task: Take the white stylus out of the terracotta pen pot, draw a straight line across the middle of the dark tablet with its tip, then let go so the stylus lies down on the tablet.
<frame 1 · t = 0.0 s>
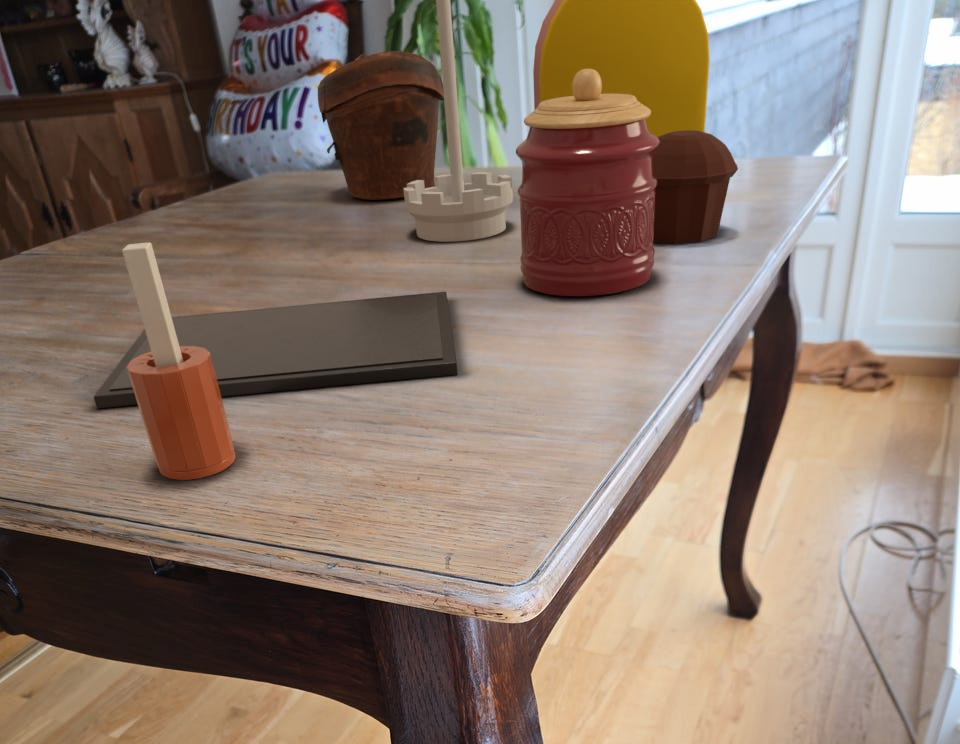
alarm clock: (616, 194, 121), on the table
muffin: (679, 236, 100), on the table
tablet: (290, 349, 77), on the table
flag stand: (461, 232, 110), on the table
pen pot: (197, 463, 59), on the table
kitchen canister: (586, 282, 88), on the table
stylus: (195, 454, 59), point 1 cm above the table, touching pen pot
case: (391, 194, 134), on the table
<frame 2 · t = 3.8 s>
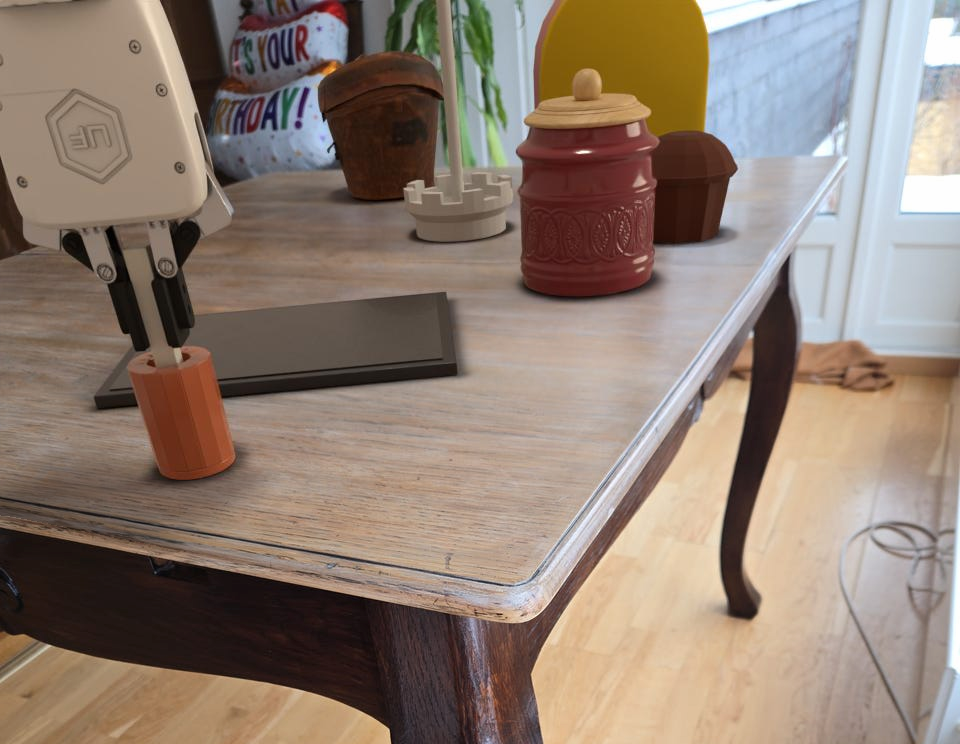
hand: (163, 341, 54), 8 cm above the table, tool pointing down, fingers closed on stylus, 1 cm apart
stylus: (195, 454, 59), point 1 cm above the table, touching gripper, pen pot
everything else where it was.
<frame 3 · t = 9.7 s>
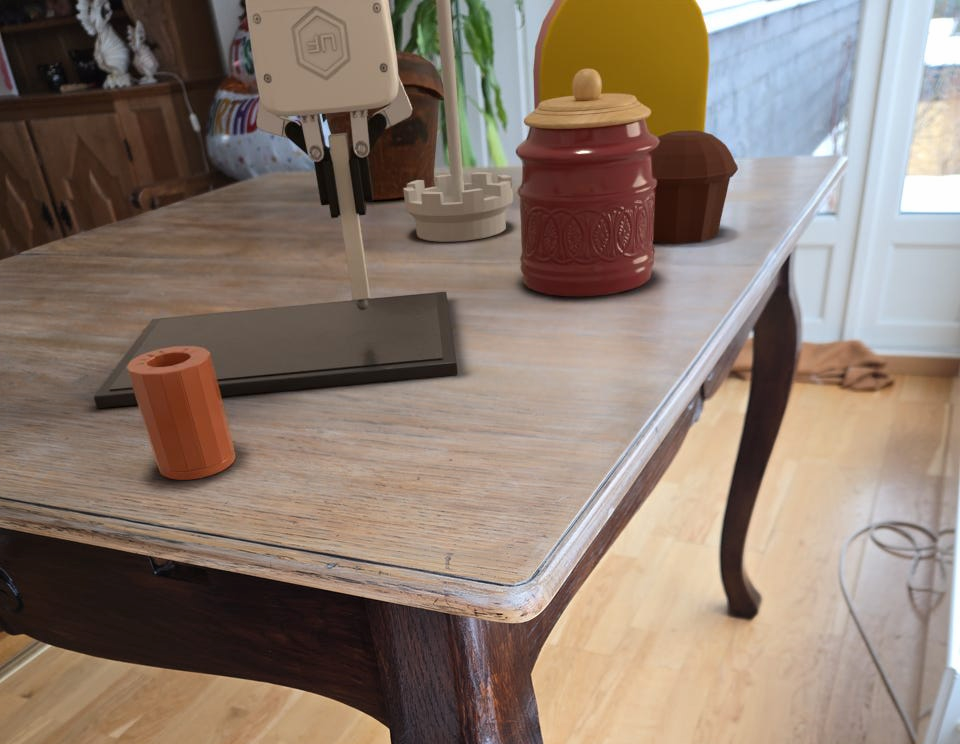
hand: (349, 211, 71), 10 cm above the table, tool pointing down, fingers closed on stylus, 1 cm apart
stylus: (363, 309, 75), point 3 cm above the table, touching gripper
everything else where it was.
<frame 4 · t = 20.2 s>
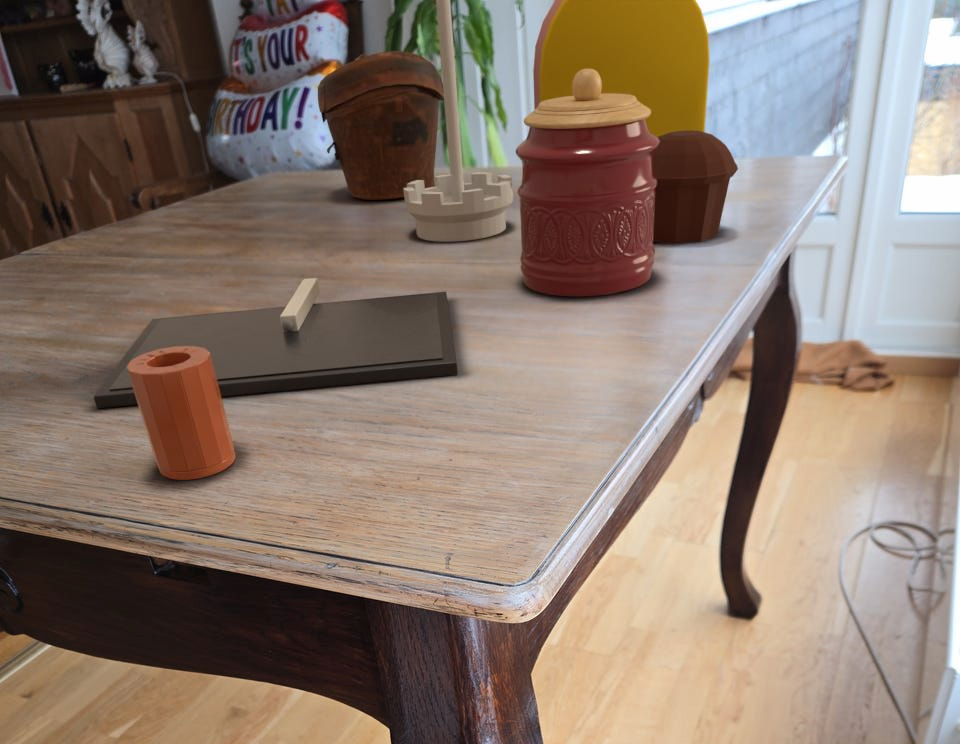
stylus: (287, 327, 76), point 2 cm above the table, tilted 90°, touching tablet
everything else where it was.
at the end: stylus inside the target area on the tablet (0.4 cm from its centre), point 1.8 cm above the tablet's base; stylus tilted 90°; the gripper is holding nothing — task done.
